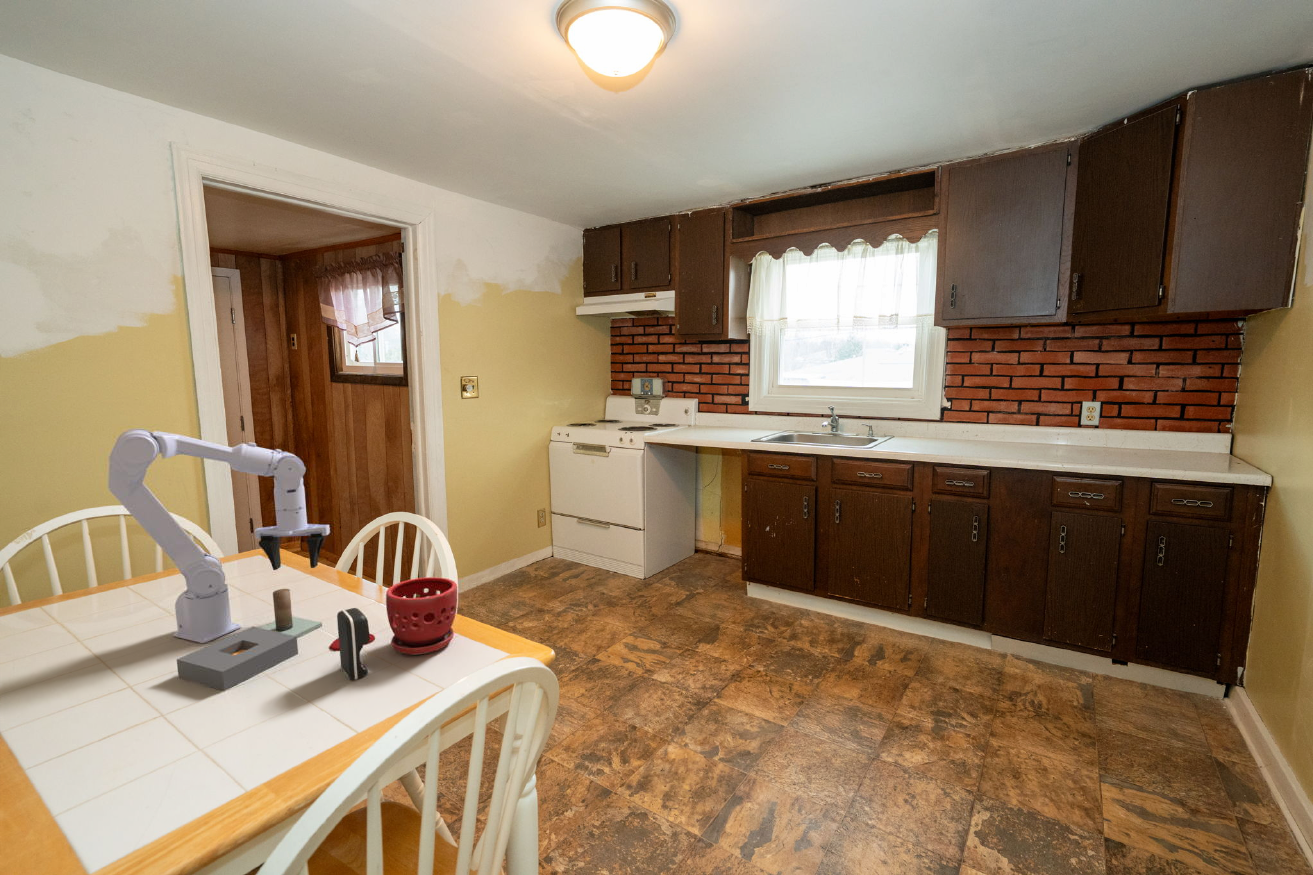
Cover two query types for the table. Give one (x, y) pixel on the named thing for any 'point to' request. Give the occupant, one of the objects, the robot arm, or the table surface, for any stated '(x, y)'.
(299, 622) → the pad
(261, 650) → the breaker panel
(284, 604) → the brown cylinder
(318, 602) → the table surface
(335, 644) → the lollipop
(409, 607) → the plant pot
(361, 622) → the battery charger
